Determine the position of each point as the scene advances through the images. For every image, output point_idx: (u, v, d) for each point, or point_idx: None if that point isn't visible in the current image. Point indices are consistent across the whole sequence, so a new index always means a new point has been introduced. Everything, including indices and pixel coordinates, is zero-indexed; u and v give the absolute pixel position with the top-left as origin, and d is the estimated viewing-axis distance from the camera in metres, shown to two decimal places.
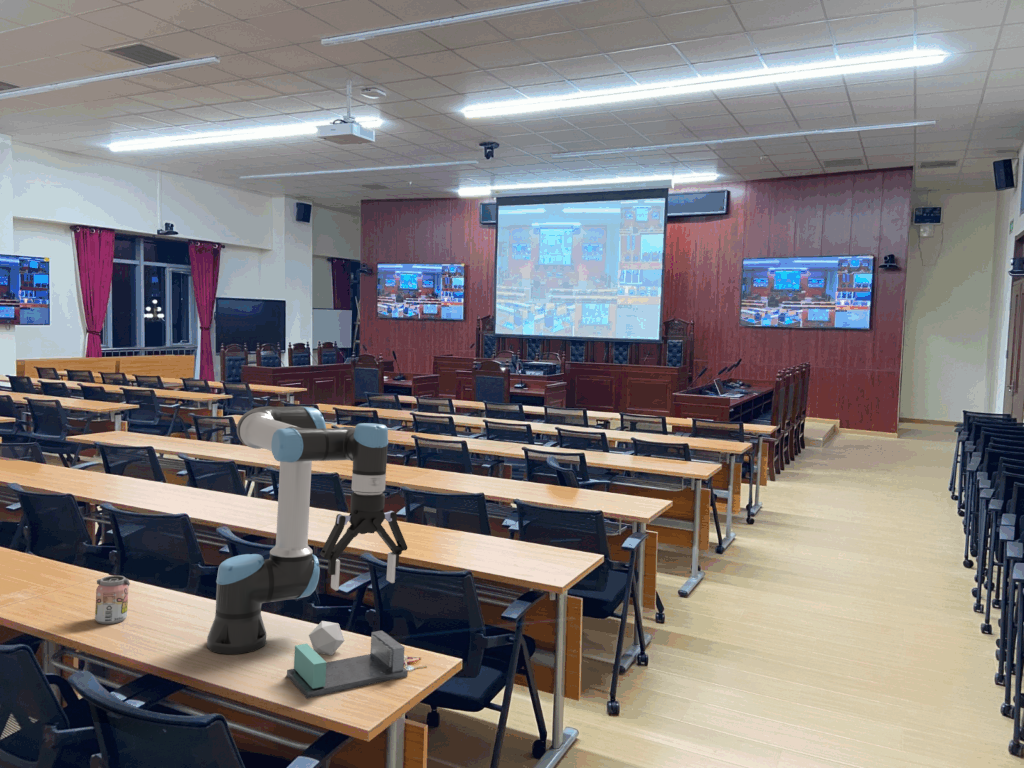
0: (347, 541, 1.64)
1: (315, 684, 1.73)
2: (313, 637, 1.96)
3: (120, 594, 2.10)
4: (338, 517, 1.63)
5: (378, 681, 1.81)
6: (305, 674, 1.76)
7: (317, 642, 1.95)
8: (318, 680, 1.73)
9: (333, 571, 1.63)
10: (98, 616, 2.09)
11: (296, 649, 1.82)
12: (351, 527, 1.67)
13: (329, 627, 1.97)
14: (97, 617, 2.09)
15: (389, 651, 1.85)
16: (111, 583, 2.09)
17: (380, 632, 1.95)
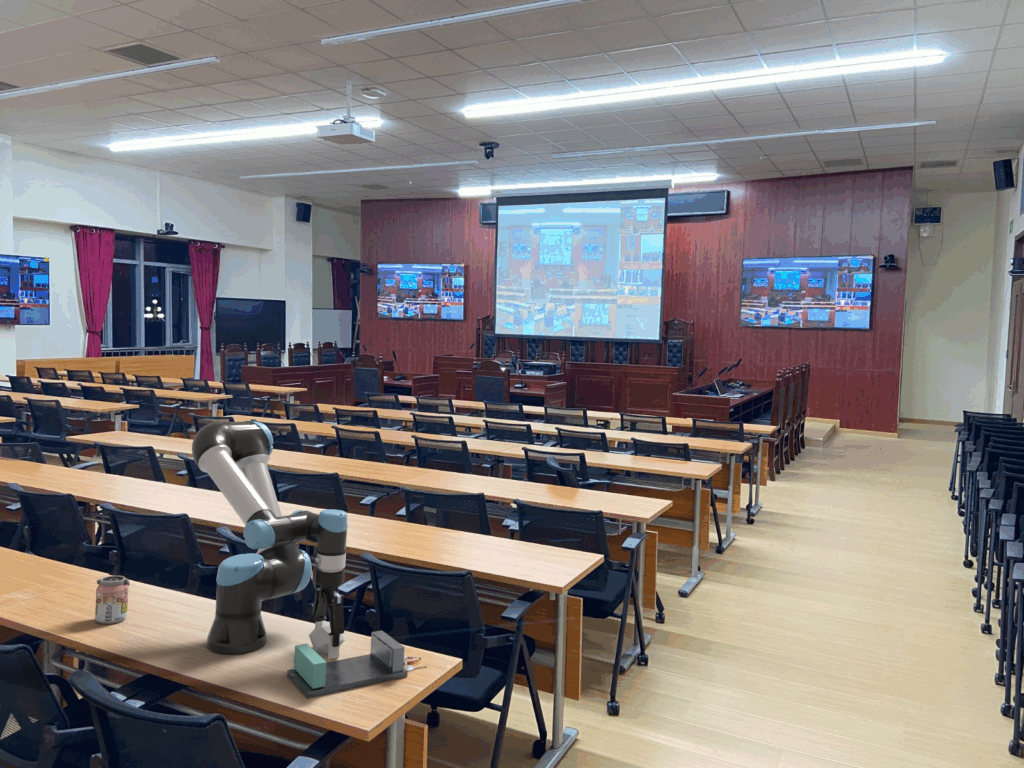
0: (318, 606, 2.01)
1: (315, 684, 1.73)
2: (313, 637, 1.96)
3: (120, 594, 2.10)
4: None
5: (378, 681, 1.81)
6: (305, 674, 1.76)
7: (317, 642, 1.95)
8: (318, 680, 1.73)
9: None
10: (98, 616, 2.09)
11: (296, 649, 1.82)
12: None
13: (329, 627, 1.97)
14: (97, 617, 2.09)
15: (389, 651, 1.85)
16: (111, 583, 2.09)
17: (380, 632, 1.95)
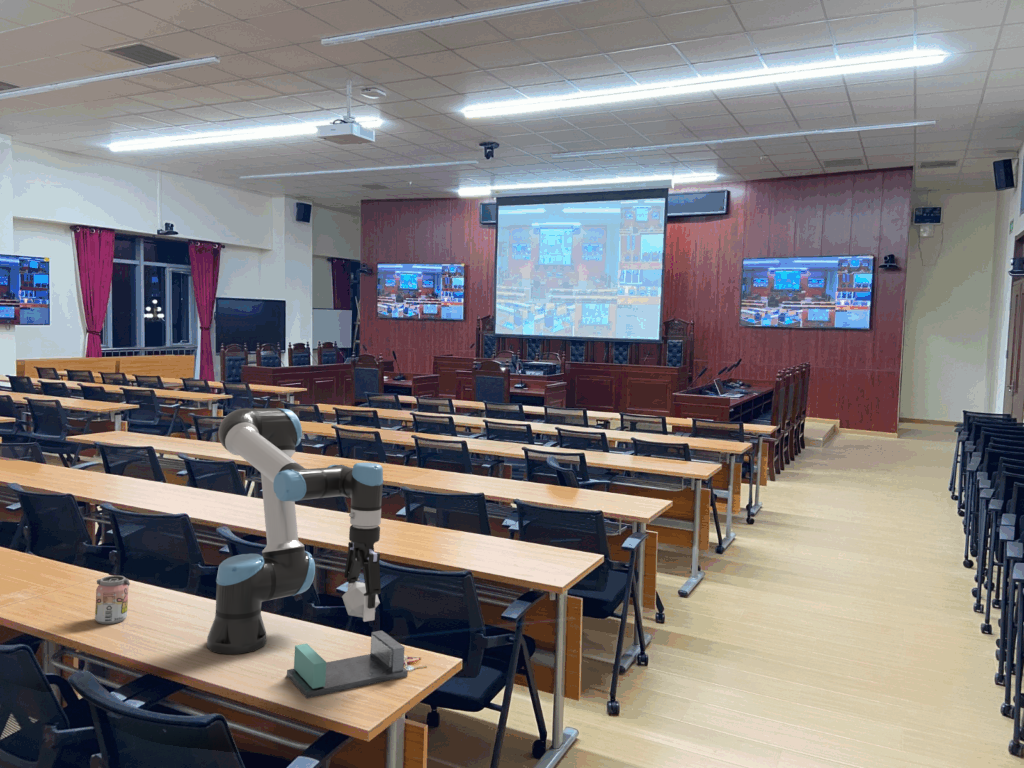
0: (351, 566, 1.88)
1: (315, 684, 1.73)
2: (347, 598, 1.83)
3: (120, 594, 2.10)
4: None
5: (378, 681, 1.81)
6: (305, 674, 1.76)
7: (351, 603, 1.81)
8: (318, 680, 1.73)
9: None
10: (98, 616, 2.09)
11: (296, 649, 1.82)
12: None
13: (364, 588, 1.84)
14: (97, 617, 2.09)
15: (389, 651, 1.85)
16: (111, 583, 2.09)
17: (380, 632, 1.95)
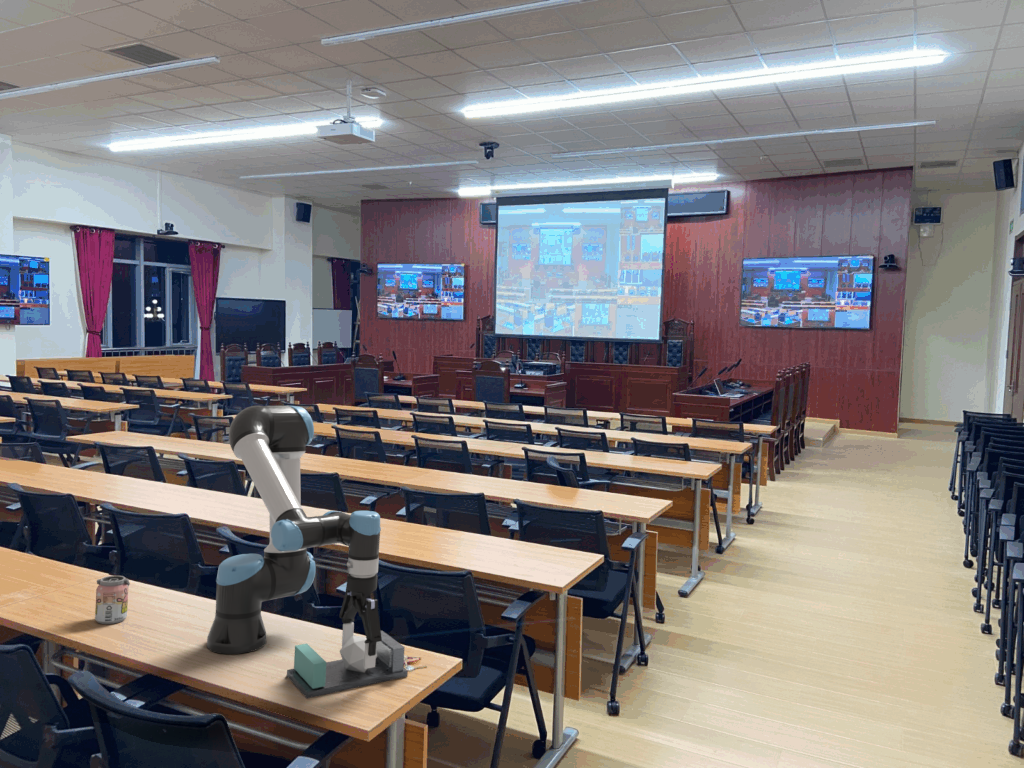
0: (347, 610, 1.89)
1: (315, 684, 1.73)
2: (345, 653, 1.83)
3: (120, 594, 2.10)
4: None
5: (378, 681, 1.81)
6: (305, 674, 1.76)
7: (348, 658, 1.82)
8: (318, 680, 1.73)
9: None
10: (98, 616, 2.09)
11: (296, 649, 1.82)
12: None
13: (361, 642, 1.84)
14: (97, 617, 2.09)
15: (389, 651, 1.85)
16: (111, 583, 2.09)
17: None
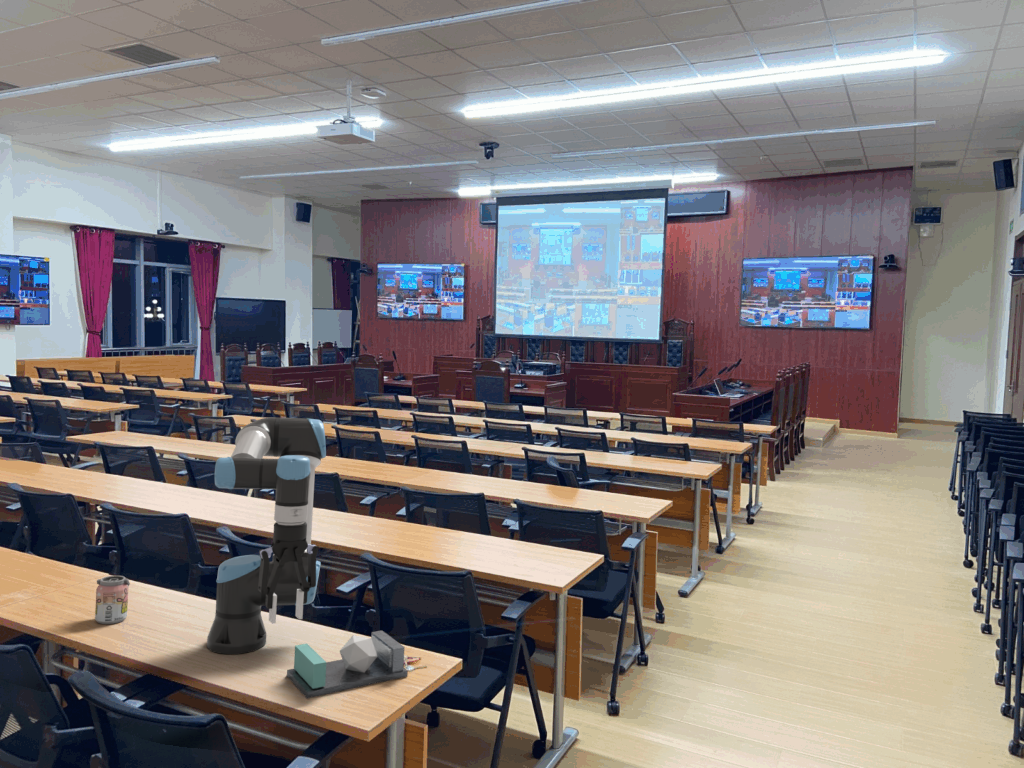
0: (277, 573, 1.71)
1: (315, 684, 1.73)
2: (345, 653, 1.83)
3: (120, 594, 2.10)
4: (260, 553, 1.70)
5: (378, 681, 1.81)
6: (305, 674, 1.76)
7: (348, 658, 1.82)
8: (318, 680, 1.73)
9: (270, 605, 1.71)
10: (98, 616, 2.09)
11: (296, 649, 1.82)
12: None
13: (361, 642, 1.84)
14: (97, 617, 2.09)
15: (389, 651, 1.85)
16: (111, 583, 2.09)
17: (380, 632, 1.95)
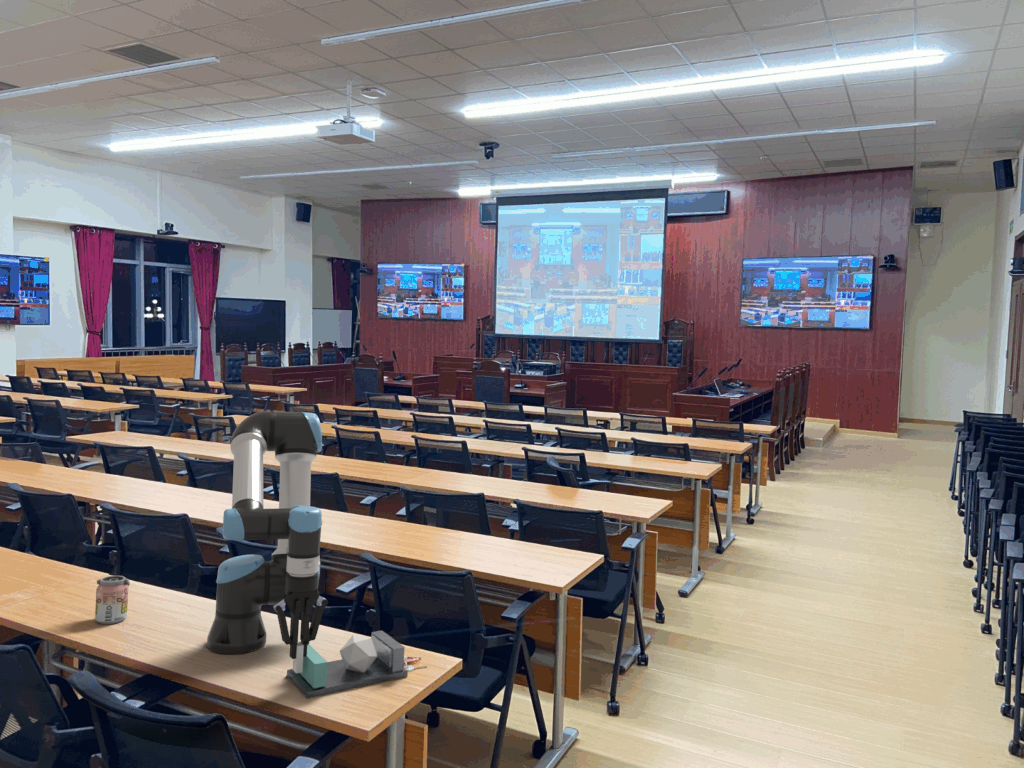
0: (296, 624, 1.75)
1: (316, 684, 1.73)
2: (345, 653, 1.83)
3: (120, 594, 2.10)
4: None
5: (378, 681, 1.81)
6: (306, 674, 1.76)
7: (348, 658, 1.82)
8: (319, 679, 1.73)
9: (294, 655, 1.75)
10: (98, 616, 2.09)
11: None
12: None
13: (361, 642, 1.84)
14: (97, 617, 2.09)
15: (389, 651, 1.85)
16: (111, 583, 2.09)
17: (380, 632, 1.95)
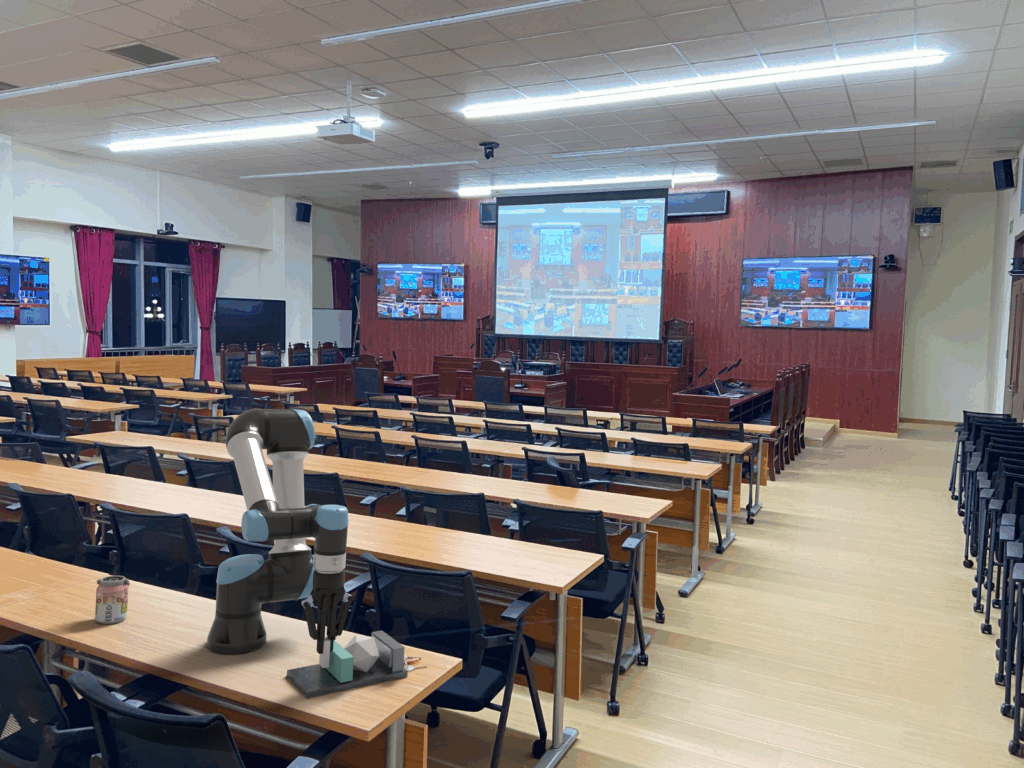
0: (323, 620, 1.78)
1: (343, 678, 1.77)
2: None
3: (120, 594, 2.10)
4: (302, 605, 1.76)
5: (378, 681, 1.81)
6: (332, 669, 1.80)
7: None
8: (346, 674, 1.77)
9: (321, 650, 1.79)
10: (98, 616, 2.09)
11: None
12: None
13: (364, 642, 1.84)
14: (97, 617, 2.09)
15: (389, 651, 1.85)
16: (111, 583, 2.09)
17: (380, 632, 1.95)
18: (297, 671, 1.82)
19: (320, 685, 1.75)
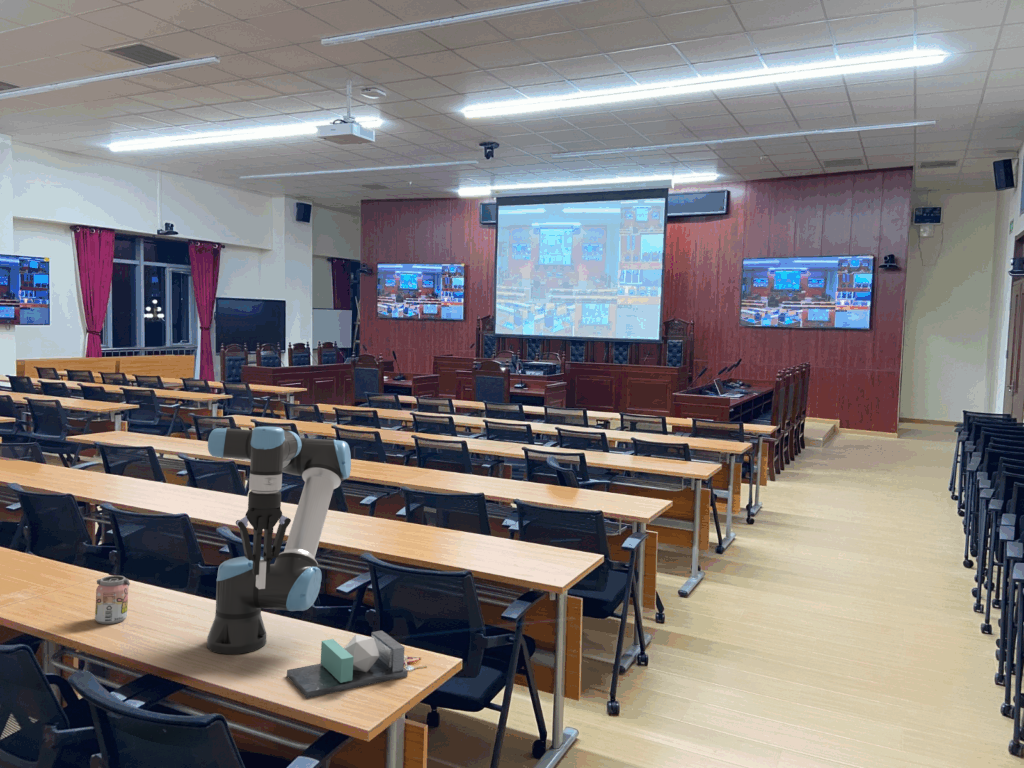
0: (258, 541, 1.77)
1: (343, 678, 1.76)
2: None
3: (120, 594, 2.10)
4: (237, 525, 1.75)
5: (378, 681, 1.81)
6: (332, 669, 1.80)
7: None
8: (346, 674, 1.77)
9: (257, 571, 1.78)
10: (98, 616, 2.09)
11: (323, 644, 1.86)
12: None
13: (364, 642, 1.84)
14: (97, 617, 2.09)
15: (389, 651, 1.85)
16: (111, 583, 2.09)
17: (380, 632, 1.95)
18: (297, 671, 1.82)
19: (320, 685, 1.75)
